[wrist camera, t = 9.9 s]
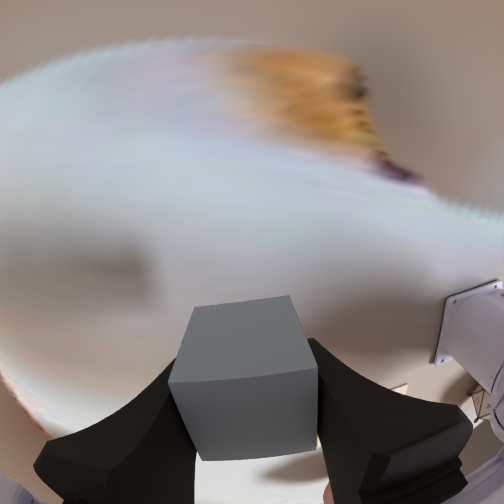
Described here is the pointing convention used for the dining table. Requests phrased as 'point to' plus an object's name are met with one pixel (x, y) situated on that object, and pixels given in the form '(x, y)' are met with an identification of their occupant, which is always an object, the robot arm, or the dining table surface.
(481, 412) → the game die
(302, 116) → the dining table surface
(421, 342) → the dining table surface
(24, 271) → the dining table surface
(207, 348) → the brick blue
